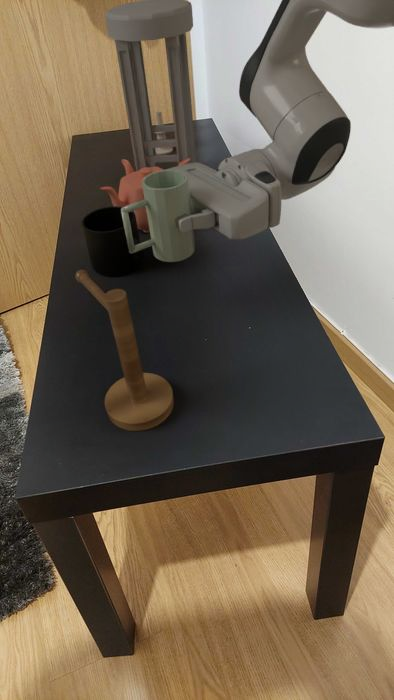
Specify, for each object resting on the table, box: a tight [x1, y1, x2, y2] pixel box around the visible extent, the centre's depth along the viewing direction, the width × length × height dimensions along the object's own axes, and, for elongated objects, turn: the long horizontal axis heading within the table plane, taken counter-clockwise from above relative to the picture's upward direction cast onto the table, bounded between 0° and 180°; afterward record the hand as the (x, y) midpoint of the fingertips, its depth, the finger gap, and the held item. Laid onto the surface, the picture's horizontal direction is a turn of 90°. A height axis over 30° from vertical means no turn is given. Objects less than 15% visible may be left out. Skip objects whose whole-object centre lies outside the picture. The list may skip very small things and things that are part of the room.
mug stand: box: [74, 269, 175, 432], centre depth 64 cm, size 16×9×18 cm, turn 34°
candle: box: [153, 111, 174, 155], centre depth 130 cm, size 5×5×10 cm
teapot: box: [99, 158, 190, 234], centre depth 102 cm, size 14×14×11 cm
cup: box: [121, 169, 196, 263], centre depth 71 cm, size 10×6×11 cm, turn 124°
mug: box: [81, 205, 145, 277], centre depth 91 cm, size 9×12×9 cm
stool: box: [104, 0, 197, 172], centre depth 104 cm, size 16×16×35 cm
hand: (163, 215), depth 71 cm, fingers closed on cup, 6 cm apart
